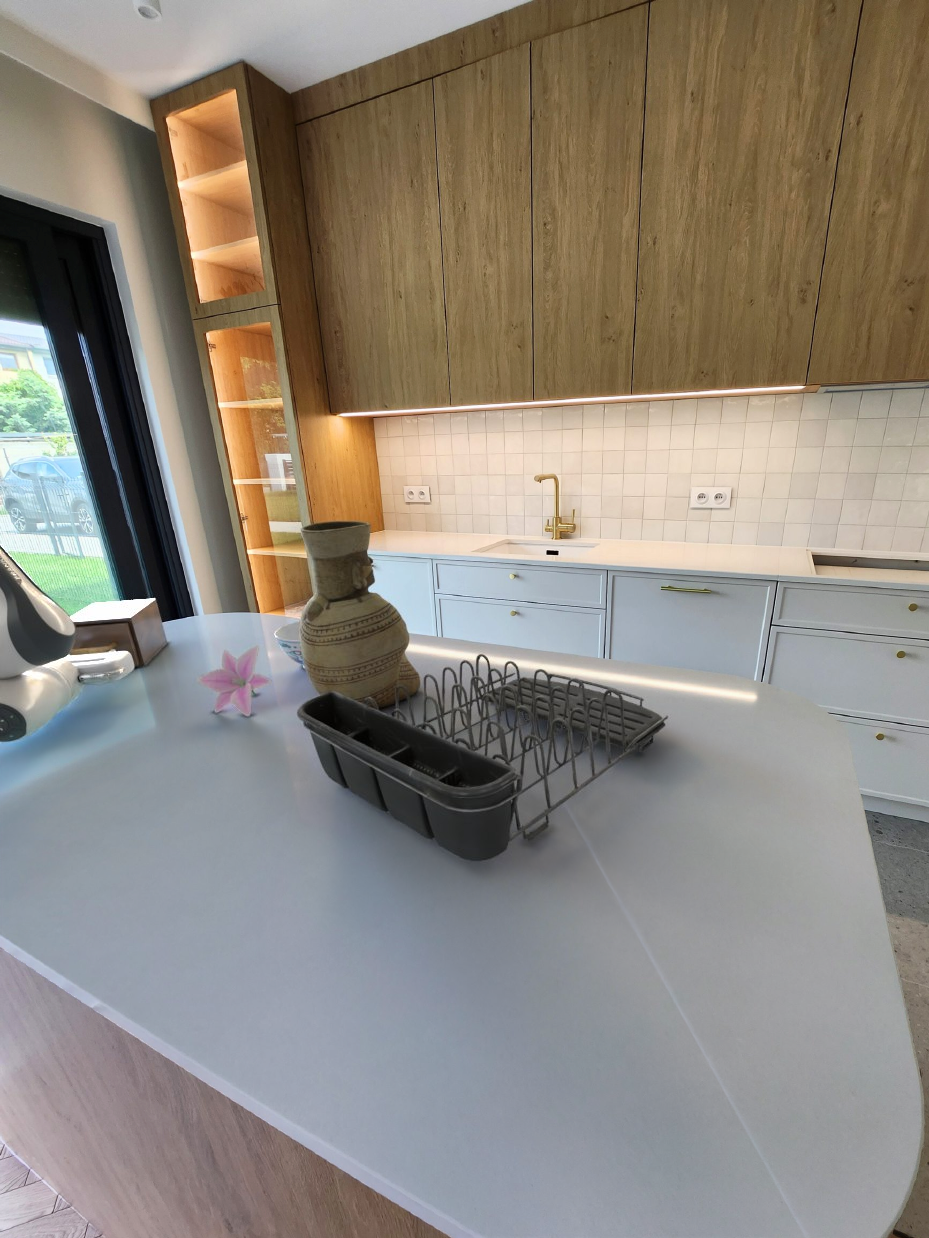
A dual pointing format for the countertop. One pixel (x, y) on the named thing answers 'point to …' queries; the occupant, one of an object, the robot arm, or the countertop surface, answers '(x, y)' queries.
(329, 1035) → the countertop surface
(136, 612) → the cabinet
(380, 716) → the dish rack
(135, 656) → the drawer
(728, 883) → the countertop surface
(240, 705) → the lily
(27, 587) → the robot arm
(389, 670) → the ceramic vessel
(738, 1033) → the countertop surface
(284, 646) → the chinaware
